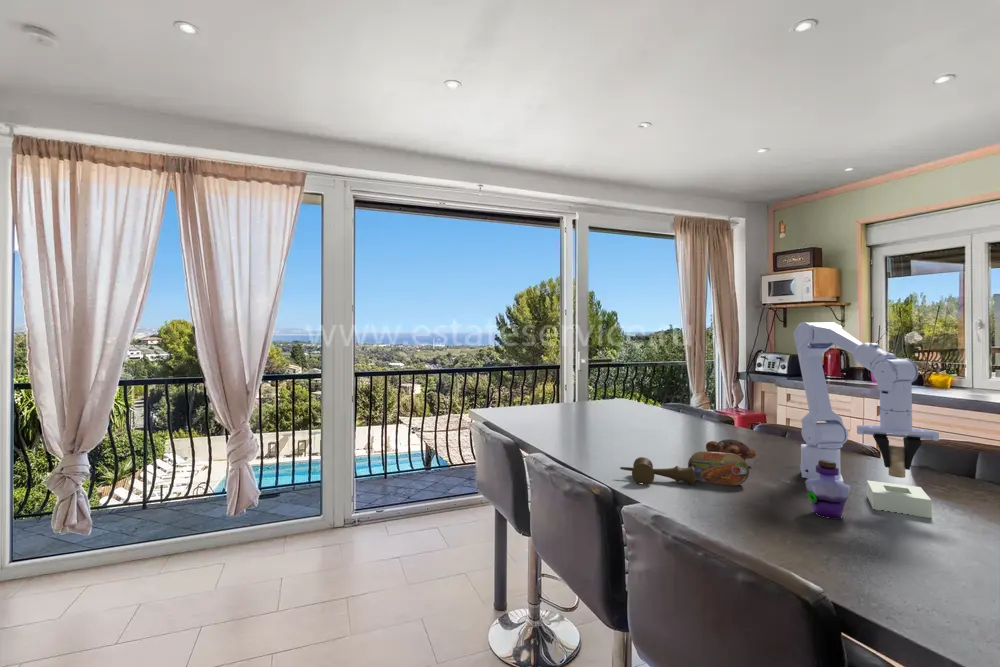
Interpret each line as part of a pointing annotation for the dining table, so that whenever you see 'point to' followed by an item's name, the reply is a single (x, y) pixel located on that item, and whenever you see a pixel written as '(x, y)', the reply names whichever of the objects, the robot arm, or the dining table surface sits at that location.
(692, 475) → the kendama
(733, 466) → the tin
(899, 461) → the peg
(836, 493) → the potion bottle
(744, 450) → the decorative turtle
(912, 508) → the socket block
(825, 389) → the robot arm
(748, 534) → the dining table surface
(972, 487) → the dining table surface
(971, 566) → the dining table surface
